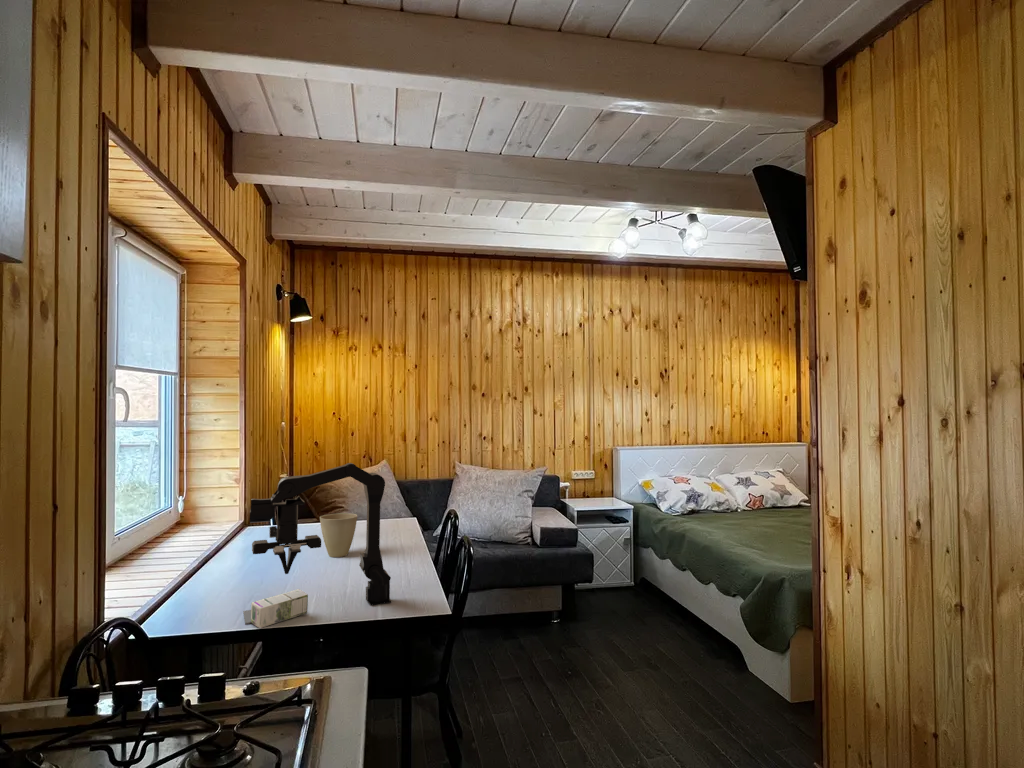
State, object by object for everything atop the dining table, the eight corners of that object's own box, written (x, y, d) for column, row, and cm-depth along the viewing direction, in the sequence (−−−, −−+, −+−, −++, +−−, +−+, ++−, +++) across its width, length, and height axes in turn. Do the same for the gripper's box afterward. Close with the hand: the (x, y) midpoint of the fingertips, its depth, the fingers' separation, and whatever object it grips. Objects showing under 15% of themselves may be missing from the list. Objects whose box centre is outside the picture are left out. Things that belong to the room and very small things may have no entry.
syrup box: (298, 588, 174) (250, 601, 163) (308, 594, 170) (259, 608, 159) (298, 607, 174) (249, 621, 163) (308, 613, 170) (259, 629, 159)
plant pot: (364, 554, 240) (364, 515, 240) (331, 561, 229) (331, 520, 230) (344, 549, 250) (345, 511, 251) (312, 555, 239) (313, 516, 240)
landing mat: (293, 604, 179) (293, 603, 179) (298, 616, 169) (298, 614, 169) (243, 612, 172) (243, 610, 172) (245, 624, 163) (245, 623, 163)
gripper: (315, 513, 184) (315, 563, 183) (251, 518, 175) (250, 571, 175) (321, 519, 174) (321, 572, 173) (253, 525, 165) (252, 580, 165)
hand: (286, 573), depth 172 cm, fingers closed
